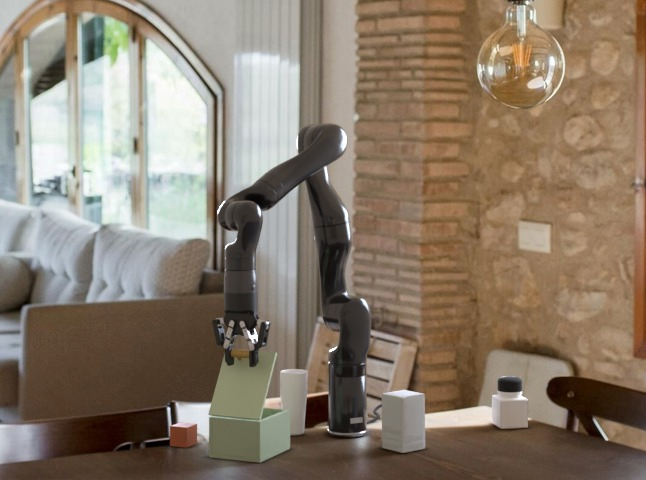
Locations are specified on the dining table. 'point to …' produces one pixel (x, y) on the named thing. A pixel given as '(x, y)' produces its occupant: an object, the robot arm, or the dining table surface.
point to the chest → (250, 436)
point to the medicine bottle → (509, 404)
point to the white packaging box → (403, 421)
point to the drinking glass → (294, 397)
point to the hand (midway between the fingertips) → (241, 365)
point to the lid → (243, 386)
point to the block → (183, 435)
